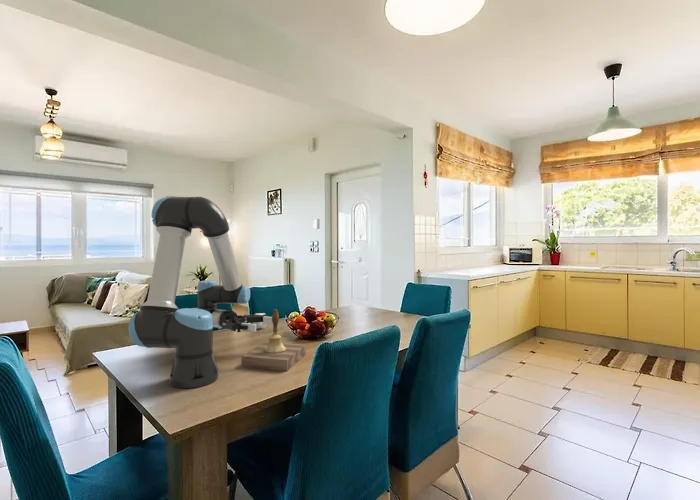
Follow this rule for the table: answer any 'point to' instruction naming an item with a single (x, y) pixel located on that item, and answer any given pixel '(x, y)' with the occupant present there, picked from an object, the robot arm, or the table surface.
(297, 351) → the walnut plinth
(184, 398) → the table surface
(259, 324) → the die
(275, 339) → the hand bell
